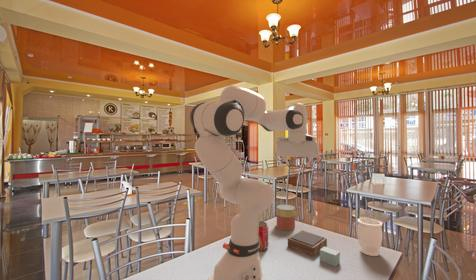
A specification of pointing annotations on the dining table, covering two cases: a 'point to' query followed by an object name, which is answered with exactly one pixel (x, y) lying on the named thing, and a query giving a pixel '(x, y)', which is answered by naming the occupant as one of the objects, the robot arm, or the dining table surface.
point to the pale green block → (330, 256)
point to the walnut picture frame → (307, 242)
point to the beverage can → (263, 235)
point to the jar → (369, 236)
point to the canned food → (285, 217)
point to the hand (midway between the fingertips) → (297, 166)
